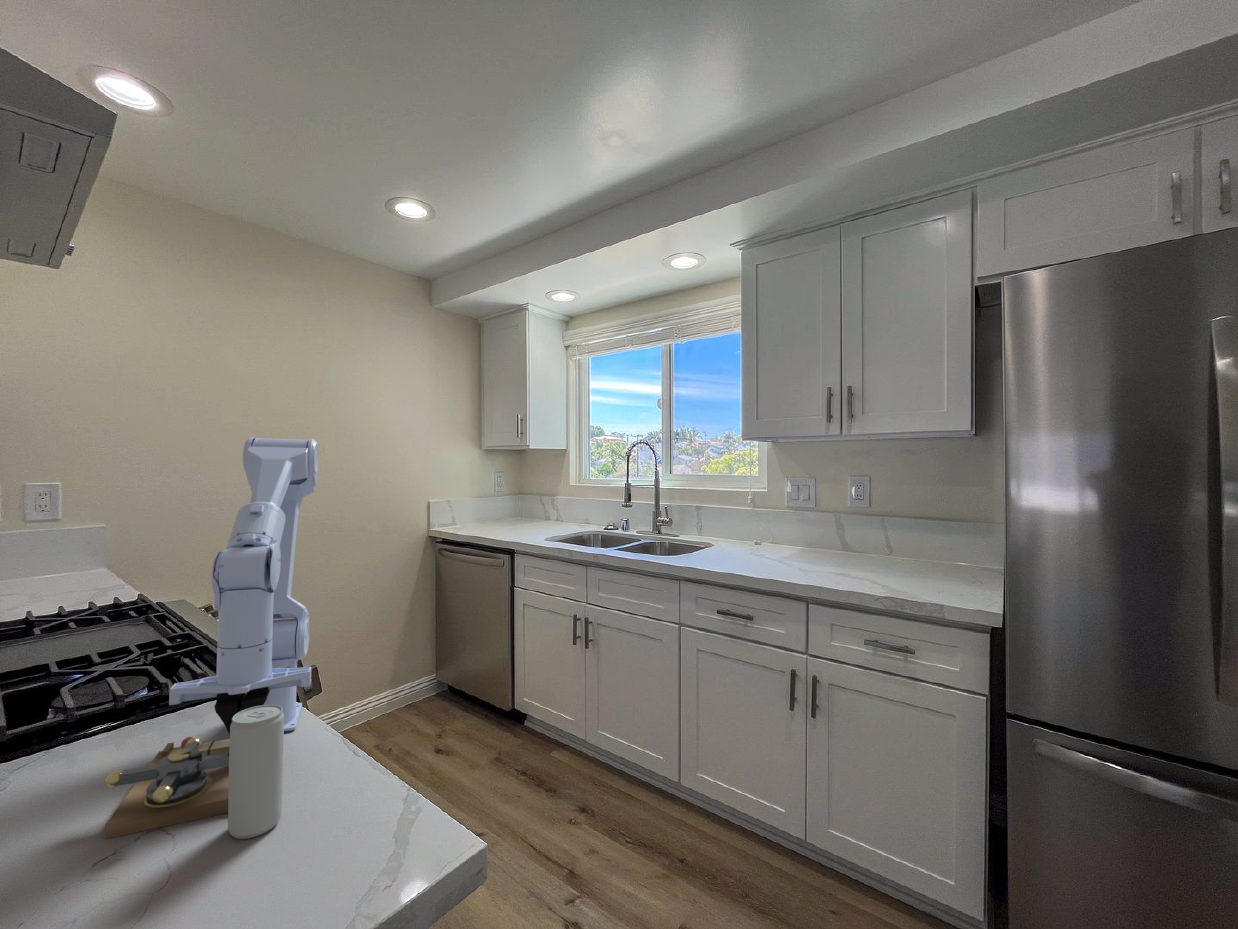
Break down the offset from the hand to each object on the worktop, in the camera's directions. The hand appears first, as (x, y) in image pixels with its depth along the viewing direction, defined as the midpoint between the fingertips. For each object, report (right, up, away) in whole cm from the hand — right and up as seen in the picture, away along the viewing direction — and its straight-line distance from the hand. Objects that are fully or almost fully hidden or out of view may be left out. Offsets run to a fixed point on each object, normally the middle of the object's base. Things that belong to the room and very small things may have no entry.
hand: (242, 751), depth 67 cm
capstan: (-3, -1, -6) cm, 7 cm away
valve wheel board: (-4, -3, -2) cm, 5 cm away
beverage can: (+8, -3, -10) cm, 13 cm away
